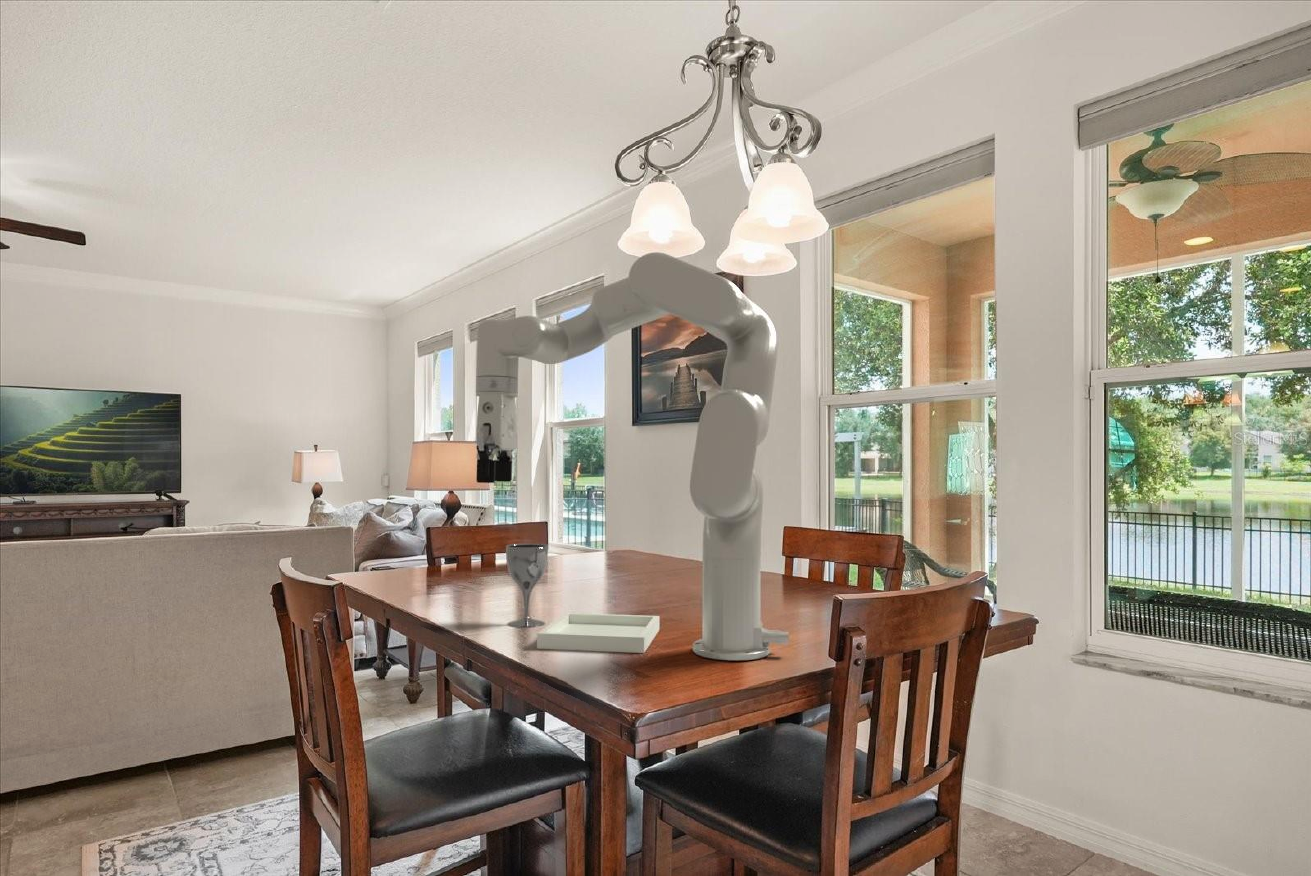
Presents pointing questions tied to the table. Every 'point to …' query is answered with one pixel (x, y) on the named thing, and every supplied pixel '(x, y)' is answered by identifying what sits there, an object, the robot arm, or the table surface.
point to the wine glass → (526, 574)
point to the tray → (599, 633)
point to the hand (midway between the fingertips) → (494, 482)
